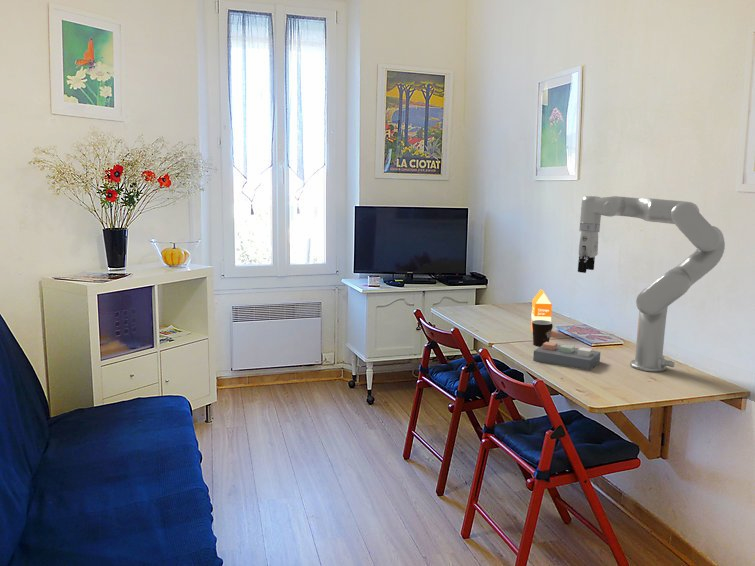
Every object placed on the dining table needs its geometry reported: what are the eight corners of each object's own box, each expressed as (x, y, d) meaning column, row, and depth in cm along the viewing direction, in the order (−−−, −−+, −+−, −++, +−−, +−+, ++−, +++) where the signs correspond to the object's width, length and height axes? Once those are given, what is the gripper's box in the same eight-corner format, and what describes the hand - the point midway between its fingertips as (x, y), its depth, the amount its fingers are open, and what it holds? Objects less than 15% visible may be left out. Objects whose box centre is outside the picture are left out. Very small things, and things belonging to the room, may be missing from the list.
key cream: (592, 356, 238) (592, 349, 238) (588, 359, 235) (589, 351, 234) (580, 355, 241) (581, 347, 240) (577, 357, 237) (577, 349, 237)
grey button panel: (599, 361, 242) (600, 352, 241) (589, 370, 230) (590, 360, 230) (545, 352, 254) (546, 343, 253) (533, 360, 243) (533, 350, 242)
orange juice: (547, 330, 292) (549, 289, 288) (550, 334, 283) (552, 292, 280) (530, 329, 293) (532, 288, 289) (533, 334, 284) (535, 292, 281)
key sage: (574, 353, 242) (574, 346, 242) (570, 356, 239) (571, 348, 238) (563, 352, 245) (563, 344, 244) (559, 354, 241) (560, 346, 241)
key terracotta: (556, 351, 246) (557, 343, 246) (553, 353, 243) (553, 345, 242) (546, 349, 249) (546, 341, 248) (542, 351, 245) (542, 343, 245)
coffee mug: (537, 347, 261) (538, 325, 259) (527, 342, 269) (528, 320, 267) (561, 346, 264) (562, 323, 262) (550, 341, 272) (551, 319, 271)
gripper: (592, 230, 231) (588, 274, 234) (605, 227, 245) (601, 269, 248) (572, 228, 235) (569, 272, 238) (586, 226, 249) (583, 267, 252)
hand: (585, 270), depth 243 cm, fingers open, 9 cm apart
